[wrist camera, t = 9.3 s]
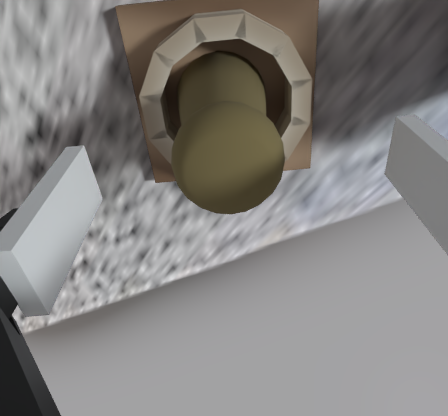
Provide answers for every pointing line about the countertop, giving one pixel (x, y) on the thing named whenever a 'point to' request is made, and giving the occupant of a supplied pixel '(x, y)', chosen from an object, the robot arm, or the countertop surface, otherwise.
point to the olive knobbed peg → (225, 135)
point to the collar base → (230, 42)
